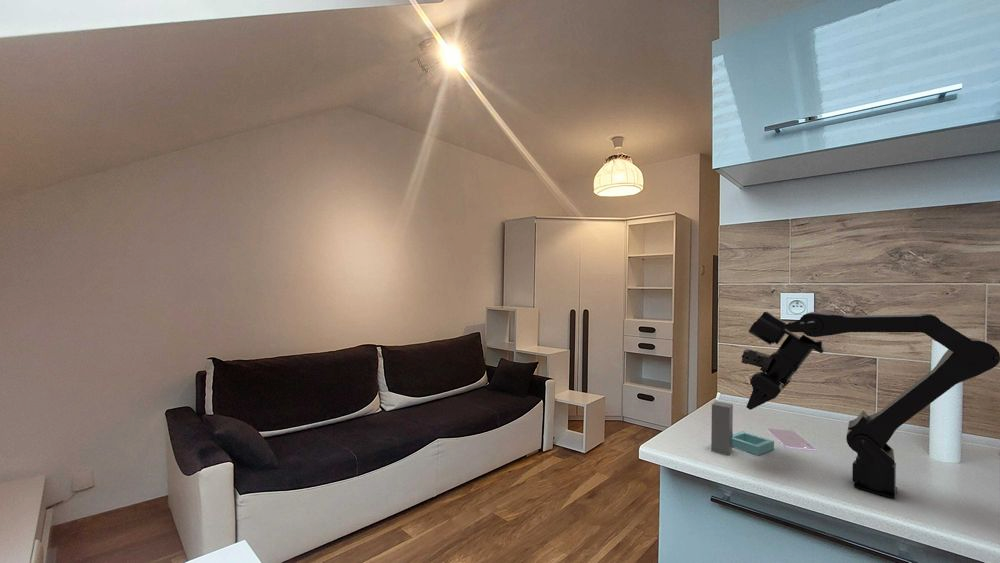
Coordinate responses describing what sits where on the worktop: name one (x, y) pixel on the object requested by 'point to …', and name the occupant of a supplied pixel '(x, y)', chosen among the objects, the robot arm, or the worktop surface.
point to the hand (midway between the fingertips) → (752, 404)
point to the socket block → (752, 443)
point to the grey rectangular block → (722, 428)
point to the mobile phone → (791, 439)
